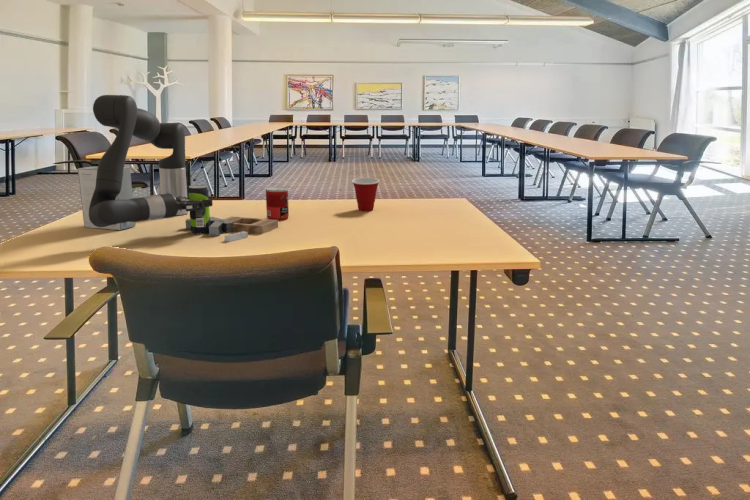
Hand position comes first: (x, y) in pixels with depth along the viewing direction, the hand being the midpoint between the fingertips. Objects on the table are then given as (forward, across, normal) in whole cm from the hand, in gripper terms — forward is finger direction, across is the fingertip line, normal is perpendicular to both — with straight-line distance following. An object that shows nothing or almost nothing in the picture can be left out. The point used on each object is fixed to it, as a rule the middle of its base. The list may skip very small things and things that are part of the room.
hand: (204, 200), depth 205 cm
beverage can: (-2, 0, +10) cm, 10 cm away
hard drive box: (-20, +28, +10) cm, 36 cm away
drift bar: (0, -17, +10) cm, 20 cm away
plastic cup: (+65, -9, +10) cm, 67 cm away
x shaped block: (+2, 0, +10) cm, 10 cm away
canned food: (+30, 0, +10) cm, 32 cm away
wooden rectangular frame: (+12, -6, +10) cm, 16 cm away
